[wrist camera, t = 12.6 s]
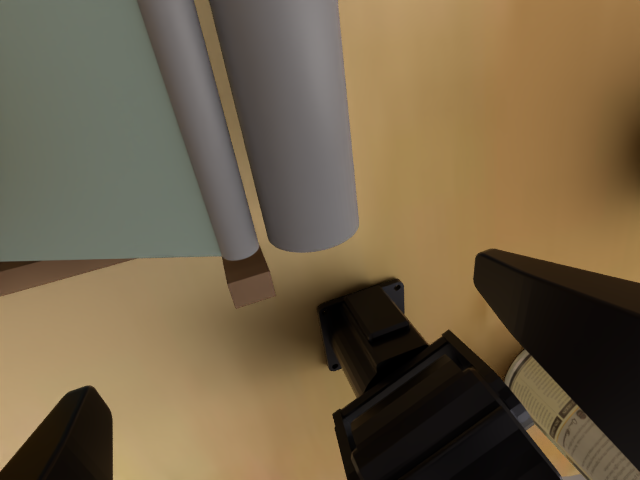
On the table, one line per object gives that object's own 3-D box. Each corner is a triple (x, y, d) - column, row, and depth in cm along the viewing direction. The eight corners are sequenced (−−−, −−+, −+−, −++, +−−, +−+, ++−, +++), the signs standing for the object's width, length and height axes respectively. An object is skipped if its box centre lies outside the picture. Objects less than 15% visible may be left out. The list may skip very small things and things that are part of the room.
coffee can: (596, 318, 39) (776, 439, 27) (560, 387, 43) (701, 515, 32) (521, 335, 36) (689, 479, 24) (490, 407, 40) (619, 558, 28)
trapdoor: (362, 203, 15) (353, 257, 12) (14, 221, 19) (-64, 266, 16) (297, -521, 7) (217, -967, 4) (-283, -237, 11) (-570, -341, 8)
